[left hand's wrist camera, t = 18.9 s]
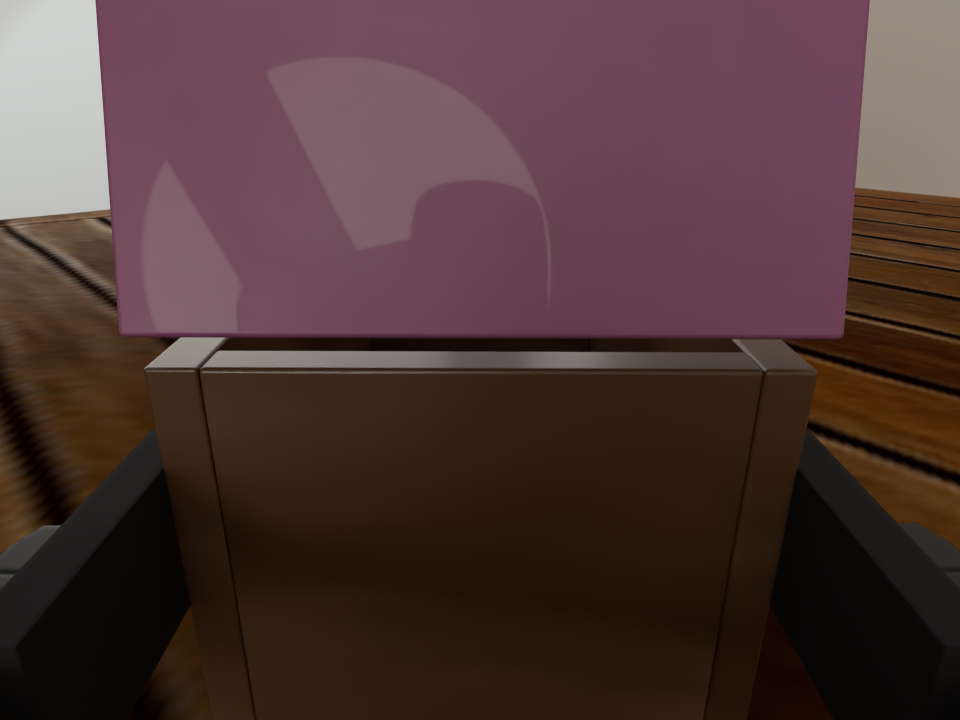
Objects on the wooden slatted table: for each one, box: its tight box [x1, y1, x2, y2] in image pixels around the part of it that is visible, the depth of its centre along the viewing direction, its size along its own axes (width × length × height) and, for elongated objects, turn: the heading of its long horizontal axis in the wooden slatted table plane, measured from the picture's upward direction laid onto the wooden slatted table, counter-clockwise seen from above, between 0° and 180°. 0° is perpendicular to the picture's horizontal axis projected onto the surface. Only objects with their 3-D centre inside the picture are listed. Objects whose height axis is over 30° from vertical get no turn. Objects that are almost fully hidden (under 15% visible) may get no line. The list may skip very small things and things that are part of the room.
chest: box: [144, 337, 817, 720], centre depth 19 cm, size 16×10×9 cm, turn 0°
